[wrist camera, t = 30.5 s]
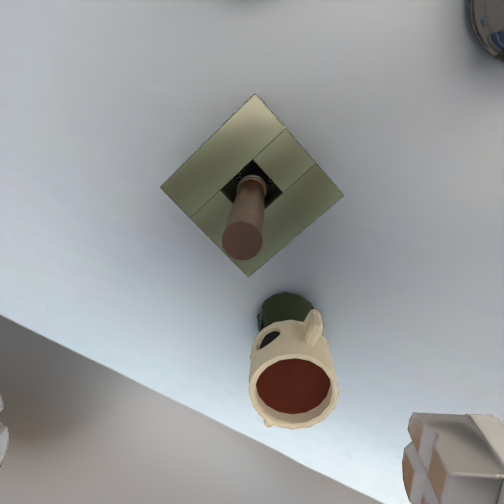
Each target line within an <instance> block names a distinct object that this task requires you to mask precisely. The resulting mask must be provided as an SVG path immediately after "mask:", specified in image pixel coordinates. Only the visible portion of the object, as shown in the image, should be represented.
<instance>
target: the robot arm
mask: <svg viewBox="0 0 504 504" xmlns="http://www.w3.org/2000/svg"><path fill="white" fill-rule="evenodd" d="M3 409H4V405H3V400H2V396H1V393H0V413H1V412H2V410H3ZM408 432H409V434H410V436H411V439H412V442H411V443H410V444H408V445H407V446H406V447H405V448H404V454H403V461H402V469H403V481H404V485H405V490H406V493H407V496H408V499H409V501H410V502H411V503H412V504H504V426H503V424H502V423H501V422H500V421H499V419H498V418H496V417H495V416H493V415H482V414H465V415H455V414H435V413H414V412H413V414H412V416H411V418H410V420H409V426H408ZM8 440H9V435H8V428H7V426H6V425H5V424H4V423H3V421H2V420H1V419H0V467H1V465H2V463H3V460H4V458H5V455H6V452H7V450H8Z"/></svg>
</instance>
